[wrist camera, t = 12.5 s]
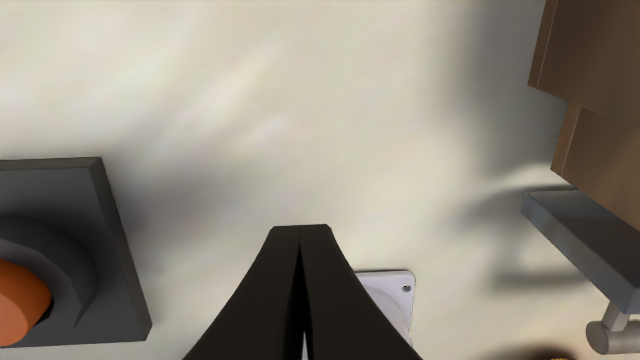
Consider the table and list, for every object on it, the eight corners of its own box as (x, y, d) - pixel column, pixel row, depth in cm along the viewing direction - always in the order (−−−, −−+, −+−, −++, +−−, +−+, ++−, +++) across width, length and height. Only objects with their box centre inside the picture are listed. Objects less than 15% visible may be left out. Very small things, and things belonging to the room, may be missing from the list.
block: (153, 325, 22) (133, 370, 20) (-1, 332, 22) (-42, 379, 19) (101, 156, 17) (65, 185, 15) (-97, 163, 17) (-170, 194, 14)
